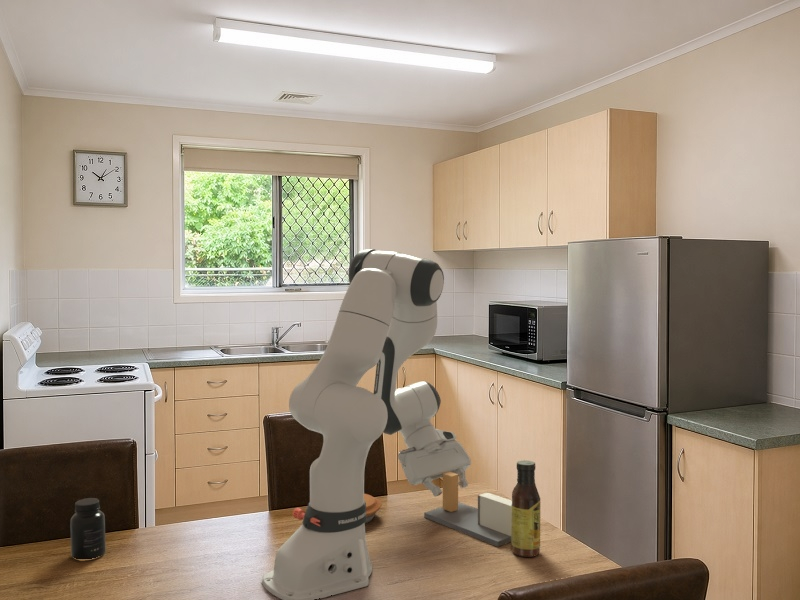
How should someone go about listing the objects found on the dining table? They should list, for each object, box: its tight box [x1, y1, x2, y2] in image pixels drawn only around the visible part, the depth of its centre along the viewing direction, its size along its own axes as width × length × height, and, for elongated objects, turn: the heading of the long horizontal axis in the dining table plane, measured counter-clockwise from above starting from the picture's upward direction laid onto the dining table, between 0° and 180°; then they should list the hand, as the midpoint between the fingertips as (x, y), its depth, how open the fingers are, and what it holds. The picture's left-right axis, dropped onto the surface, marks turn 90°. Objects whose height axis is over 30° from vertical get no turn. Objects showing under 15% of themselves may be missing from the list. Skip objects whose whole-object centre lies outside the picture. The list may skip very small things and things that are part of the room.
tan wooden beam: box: [442, 472, 459, 512], centre depth 172 cm, size 2×3×9 cm
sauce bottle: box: [510, 459, 541, 558], centre depth 150 cm, size 7×6×20 cm
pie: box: [364, 493, 383, 524], centre depth 171 cm, size 15×16×5 cm
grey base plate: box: [423, 491, 512, 548], centre depth 166 cm, size 12×24×8 cm, turn 41°
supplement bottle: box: [69, 497, 107, 559], centre depth 149 cm, size 7×7×12 cm
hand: (452, 490), depth 172 cm, fingers open, 8 cm apart
